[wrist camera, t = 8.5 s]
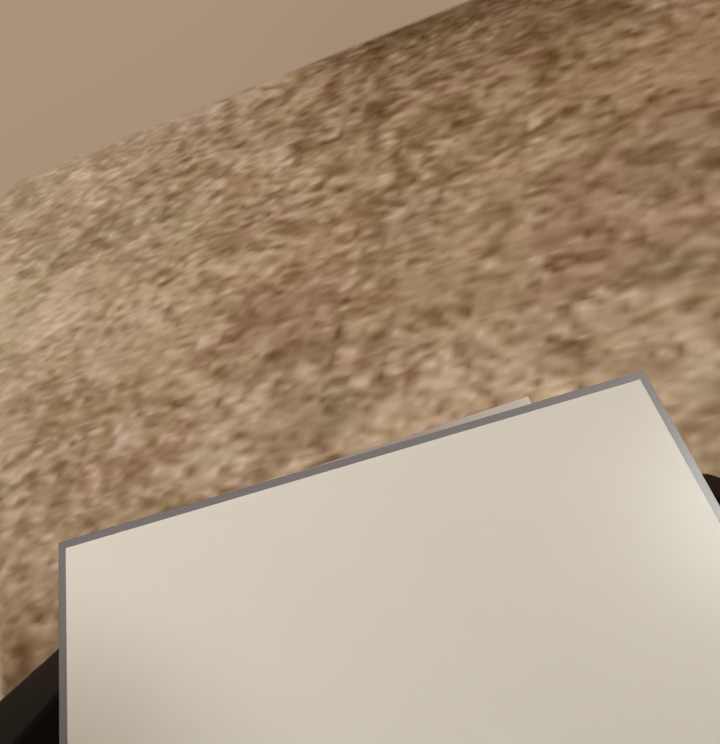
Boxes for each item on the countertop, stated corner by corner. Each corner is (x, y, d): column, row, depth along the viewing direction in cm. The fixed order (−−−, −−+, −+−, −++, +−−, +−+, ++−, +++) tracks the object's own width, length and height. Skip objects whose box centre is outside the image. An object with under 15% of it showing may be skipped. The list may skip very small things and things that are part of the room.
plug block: (522, 674, 14) (1122, 1223, 2) (378, 715, 14) (62, 1513, 2) (476, 541, 15) (644, 370, 3) (346, 578, 15) (57, 542, 3)
